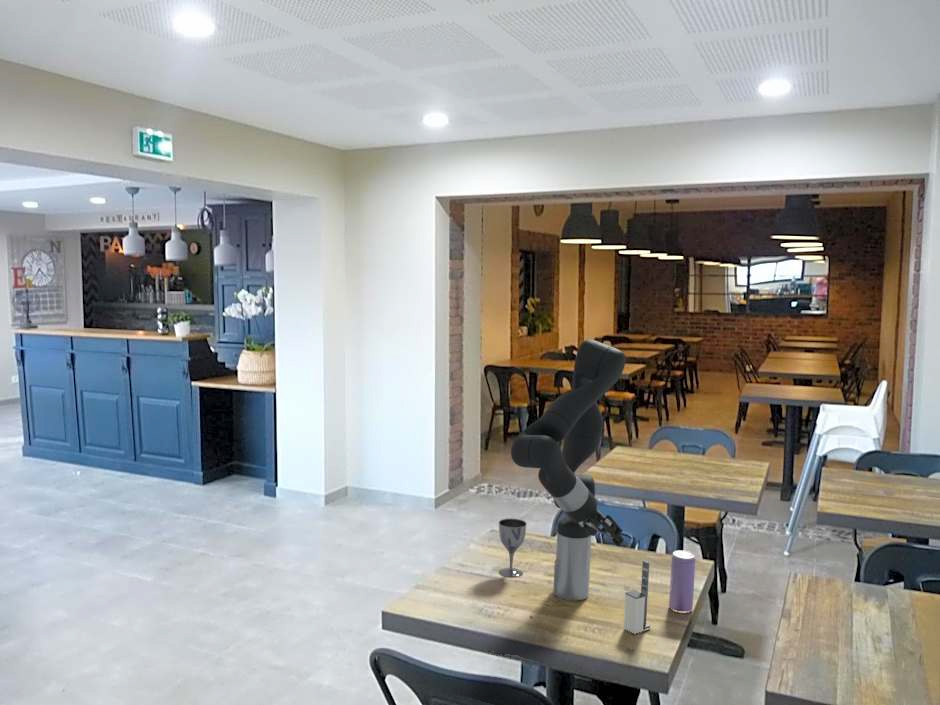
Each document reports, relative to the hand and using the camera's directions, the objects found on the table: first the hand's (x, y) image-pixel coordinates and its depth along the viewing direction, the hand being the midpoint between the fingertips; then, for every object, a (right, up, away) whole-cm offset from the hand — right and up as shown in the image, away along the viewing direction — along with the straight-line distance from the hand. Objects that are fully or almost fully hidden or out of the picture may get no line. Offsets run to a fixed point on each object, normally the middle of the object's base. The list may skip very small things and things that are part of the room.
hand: (607, 537), depth 177 cm
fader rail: (+11, -25, +10) cm, 29 cm away
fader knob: (+8, -25, +9) cm, 28 cm away
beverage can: (+23, -24, +22) cm, 40 cm away
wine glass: (-20, -21, +43) cm, 52 cm away
